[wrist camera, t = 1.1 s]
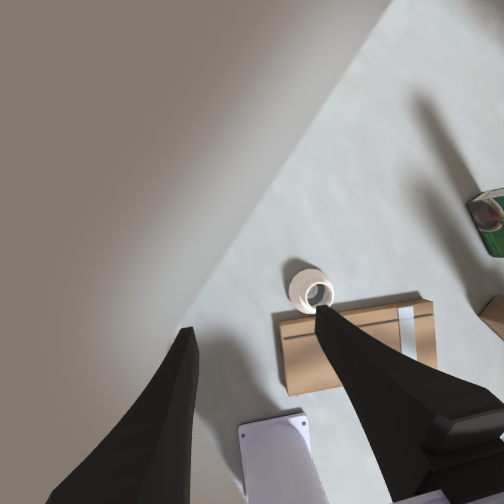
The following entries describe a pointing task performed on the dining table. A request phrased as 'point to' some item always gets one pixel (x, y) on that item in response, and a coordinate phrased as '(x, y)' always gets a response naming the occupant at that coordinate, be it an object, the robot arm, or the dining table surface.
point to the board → (370, 321)
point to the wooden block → (495, 315)
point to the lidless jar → (310, 290)
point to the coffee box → (490, 219)
